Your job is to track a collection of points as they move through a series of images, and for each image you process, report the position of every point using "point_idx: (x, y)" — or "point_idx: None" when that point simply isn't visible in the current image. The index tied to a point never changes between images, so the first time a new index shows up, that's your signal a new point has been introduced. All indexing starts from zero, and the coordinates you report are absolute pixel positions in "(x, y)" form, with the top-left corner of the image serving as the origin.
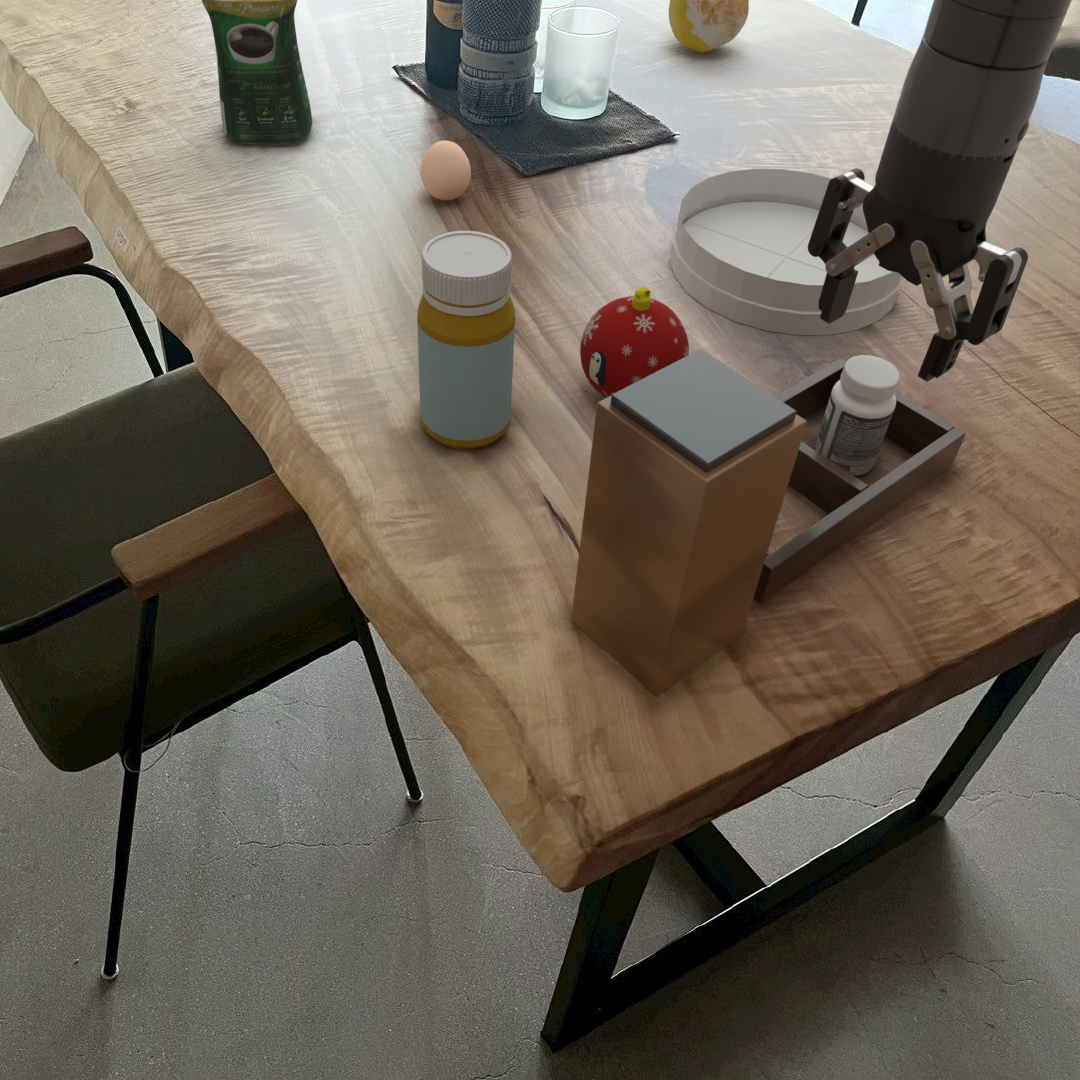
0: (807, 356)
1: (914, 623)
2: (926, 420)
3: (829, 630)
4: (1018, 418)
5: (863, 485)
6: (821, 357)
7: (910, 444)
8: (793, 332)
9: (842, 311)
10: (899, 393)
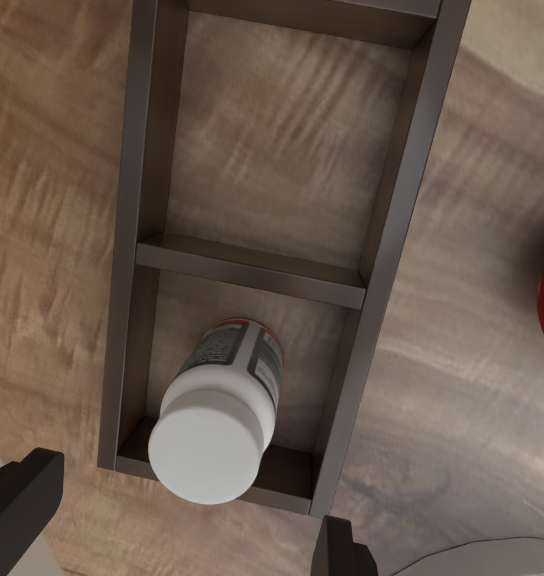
0: (389, 523)
1: (6, 119)
2: None
3: (74, 15)
4: (115, 556)
5: (140, 257)
6: (371, 532)
7: None
8: (431, 558)
9: (314, 569)
10: None
